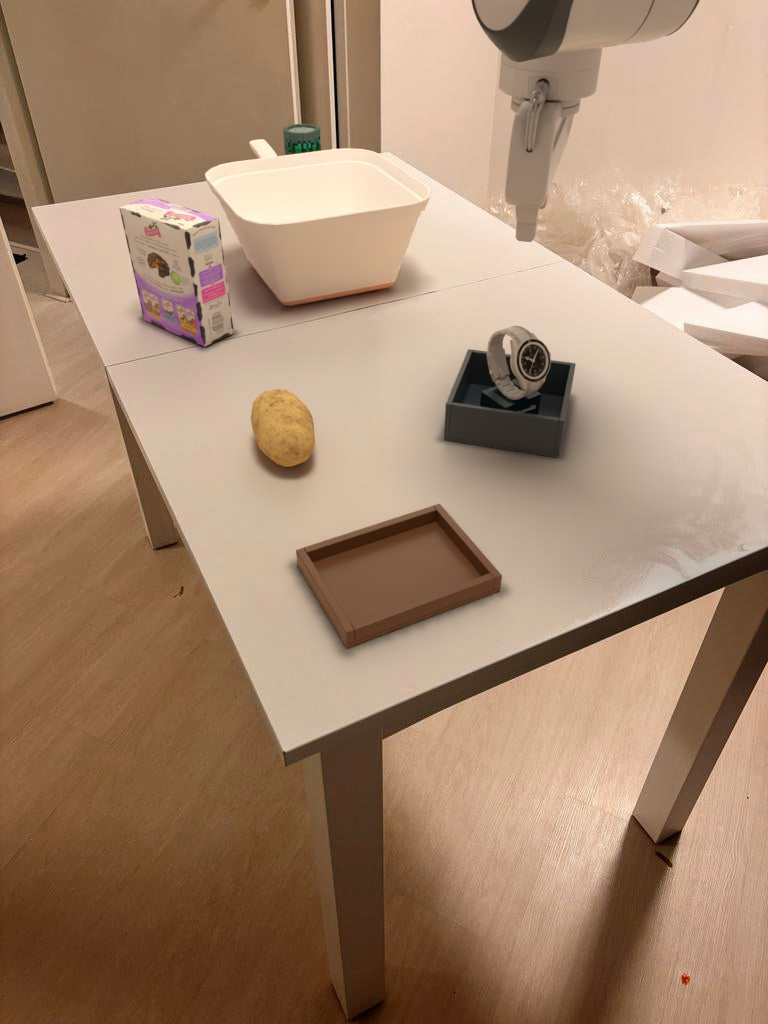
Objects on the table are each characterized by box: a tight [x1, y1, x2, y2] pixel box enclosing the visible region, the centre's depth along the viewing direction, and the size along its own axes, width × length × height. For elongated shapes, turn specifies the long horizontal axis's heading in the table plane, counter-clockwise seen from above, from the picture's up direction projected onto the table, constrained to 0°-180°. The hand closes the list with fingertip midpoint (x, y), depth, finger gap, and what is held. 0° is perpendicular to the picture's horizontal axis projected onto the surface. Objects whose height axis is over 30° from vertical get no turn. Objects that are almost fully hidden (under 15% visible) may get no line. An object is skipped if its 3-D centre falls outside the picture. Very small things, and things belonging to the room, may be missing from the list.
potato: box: [250, 388, 316, 468], centre depth 89 cm, size 7×11×6 cm, turn 18°
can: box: [282, 123, 322, 155], centre depth 144 cm, size 6×6×15 cm
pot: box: [204, 138, 433, 307], centre depth 128 cm, size 29×44×15 cm, turn 24°
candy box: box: [118, 196, 235, 348], centre depth 109 cm, size 14×6×16 cm, turn 51°
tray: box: [295, 503, 503, 649], centre depth 75 cm, size 16×12×2 cm
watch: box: [480, 325, 552, 415], centre depth 93 cm, size 6×8×11 cm
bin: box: [443, 348, 577, 459], centre depth 95 cm, size 13×13×5 cm
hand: (531, 222), depth 81 cm, fingers open, 8 cm apart
